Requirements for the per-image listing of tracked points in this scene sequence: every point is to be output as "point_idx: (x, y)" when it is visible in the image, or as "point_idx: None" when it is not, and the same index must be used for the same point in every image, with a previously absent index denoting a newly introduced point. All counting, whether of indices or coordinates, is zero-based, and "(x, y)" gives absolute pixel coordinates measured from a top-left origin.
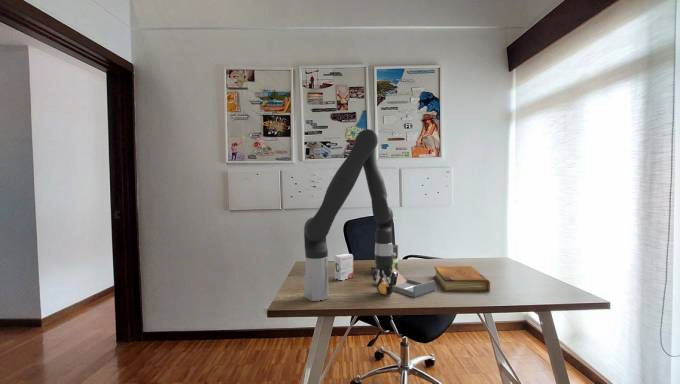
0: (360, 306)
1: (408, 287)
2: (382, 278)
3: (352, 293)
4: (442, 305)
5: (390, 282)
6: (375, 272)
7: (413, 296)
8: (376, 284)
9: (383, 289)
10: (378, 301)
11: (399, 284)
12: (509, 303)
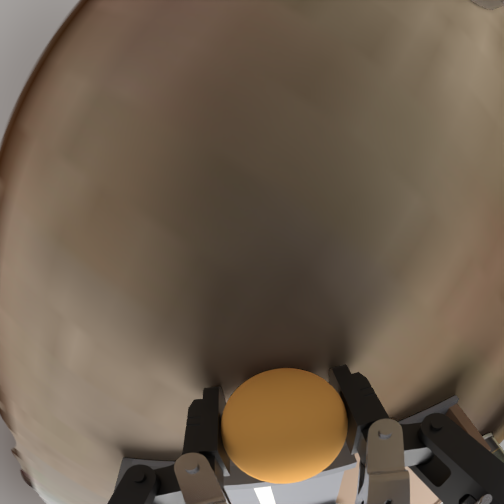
0: (122, 18)
1: (269, 497)
2: (357, 493)
3: (459, 152)
4: (24, 441)
5: (140, 500)
6: (461, 491)
7: (132, 461)
8: (444, 401)
9: (238, 407)
10: (132, 238)
11: (338, 484)
12: (47, 500)
